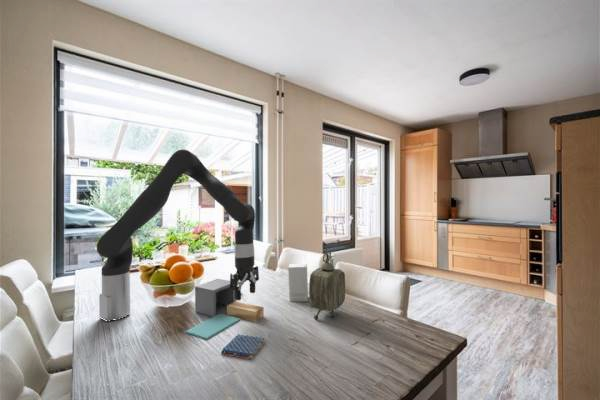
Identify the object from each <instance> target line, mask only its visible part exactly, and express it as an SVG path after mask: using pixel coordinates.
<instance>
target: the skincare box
mask: <svg viewBox="0 0 600 400" xmlns="http://www.w3.org/2000/svg"><path fill="white" fill-rule="evenodd" d="M287 269H288V270H287V271H288V272H287V273H288V291H289V292H288V294H289V302H308V300H309V284H308V283H309V281H308V263H289V265H288V268H287Z"/></svg>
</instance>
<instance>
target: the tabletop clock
mask: <svg viewBox="0 0 600 400" xmlns="http://www.w3.org/2000/svg"><path fill="white" fill-rule="evenodd" d="M326 254H329V258H327V257H326V258H325V256H326ZM322 255H323V256H322V261H323V262H324V263H322V265H321V267H318V268H316V269H315V270H313V271H312V272H311V273H310V277H309V281H308V283H309V284H308V300H309V305H310V308H312V309H316V310H318V311H317V313H316V314H314V317H313V319H314V320H319V314H320V313H321V312H322V311H326V312H331V317H333V318H335V317H336V313H335V312H334V311H335V310H338V309H339V308H340V307H341V306H342V305H343V304H344V302H345V299H346V274H345V272H344V271H343V270H341V269H339V268H335V267H334V265H333V263H330V260H331V259H332V253H331V251H330V250H326V251H325V252H324V253H323V254H322Z"/></svg>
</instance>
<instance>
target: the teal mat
mask: <svg viewBox="0 0 600 400" xmlns="http://www.w3.org/2000/svg"><path fill="white" fill-rule="evenodd" d="M240 321H241V318H237V317H233V316H229V315H227V314H223V313H220V314H219V313H218V314H216V316H212V317H211V318H209V319H207V320H205V321H202V322H201V323H200V324H197V325H196V326H194V327H190V328H189V329H187V330H185V334H188V335H192V336H195V337H196V338H197V337H198V338H200V339H202V340H203V339H204V340H209V339H210V338H212V337H214V336H216V335H217V334H219V333H221V332H222V331H225V330H226V329H228V328H229V327H230V328H231V326H233V325H235V324H236V323H238V322H240Z"/></svg>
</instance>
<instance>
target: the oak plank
mask: <svg viewBox="0 0 600 400" xmlns="http://www.w3.org/2000/svg"><path fill="white" fill-rule="evenodd" d="M264 313H265V312H264V306H259V305H255V304H250V303H245V302H241V301H240V302H239V301H237V300H236V301H235V302H233V303H231V304H229V305H226V315H228V316H232V317H235V318H239V319H240V320H241V319H242V320H246V321H250V322H254V323H256V322H258V321H260V320H261V319H262V318H264Z"/></svg>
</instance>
